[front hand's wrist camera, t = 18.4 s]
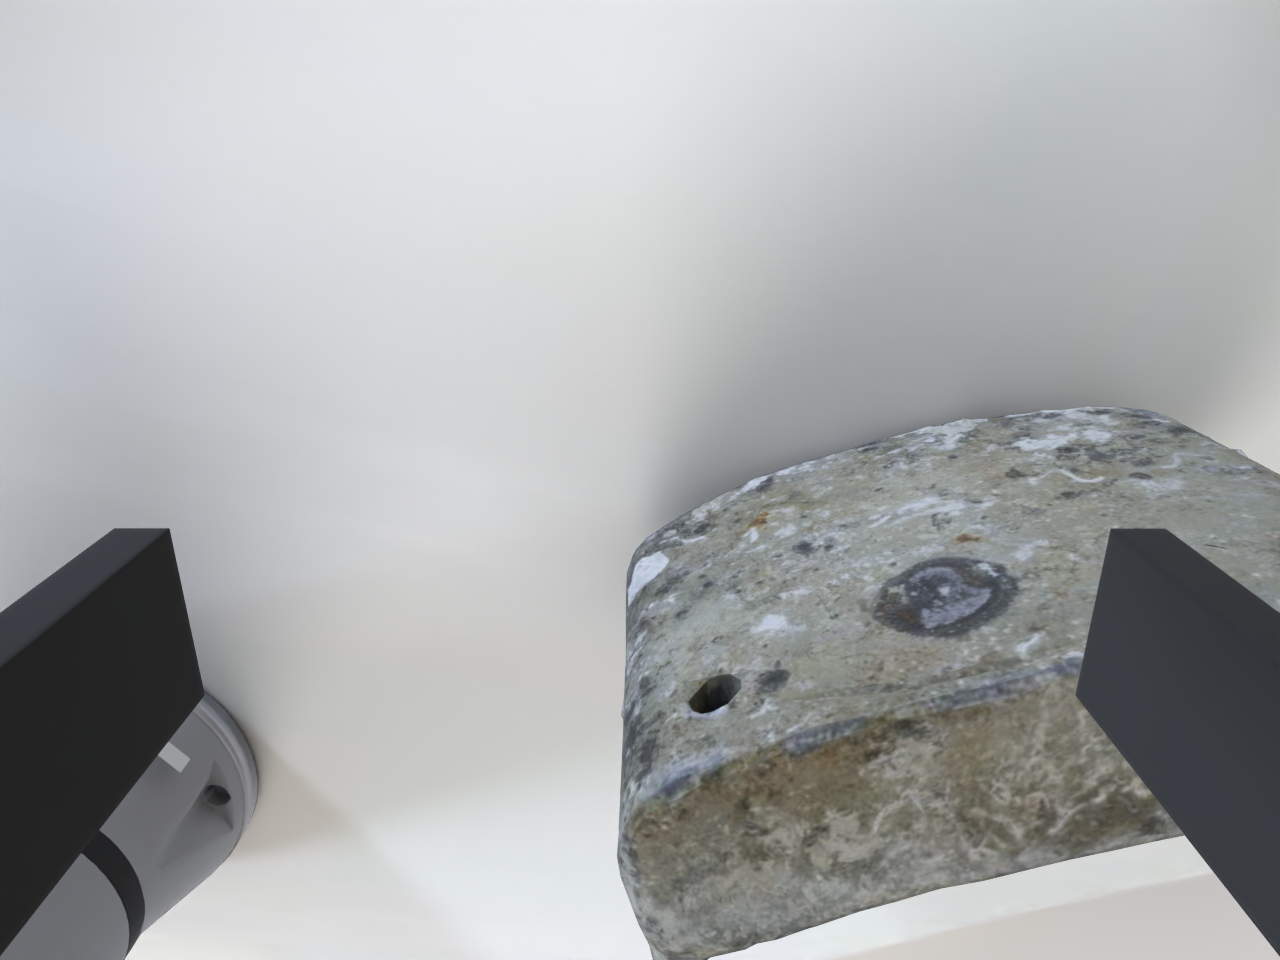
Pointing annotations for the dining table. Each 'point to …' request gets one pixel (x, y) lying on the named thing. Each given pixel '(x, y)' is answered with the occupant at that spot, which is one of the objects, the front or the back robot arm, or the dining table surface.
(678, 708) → the concrete block
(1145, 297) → the dining table surface
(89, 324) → the dining table surface
